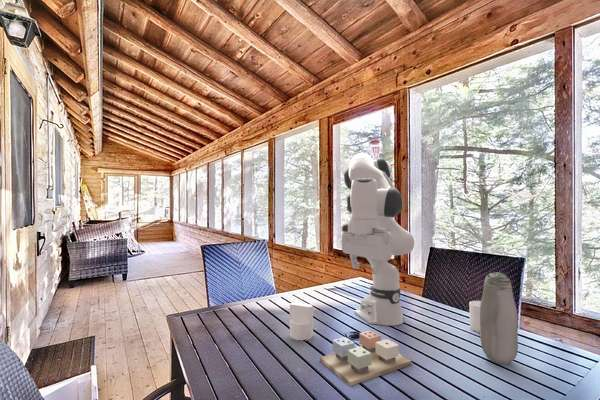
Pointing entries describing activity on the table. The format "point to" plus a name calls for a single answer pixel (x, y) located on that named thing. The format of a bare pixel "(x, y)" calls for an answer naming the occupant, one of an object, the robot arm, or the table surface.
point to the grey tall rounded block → (498, 319)
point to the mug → (475, 315)
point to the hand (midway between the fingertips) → (365, 270)
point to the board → (366, 375)
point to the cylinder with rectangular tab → (301, 321)
